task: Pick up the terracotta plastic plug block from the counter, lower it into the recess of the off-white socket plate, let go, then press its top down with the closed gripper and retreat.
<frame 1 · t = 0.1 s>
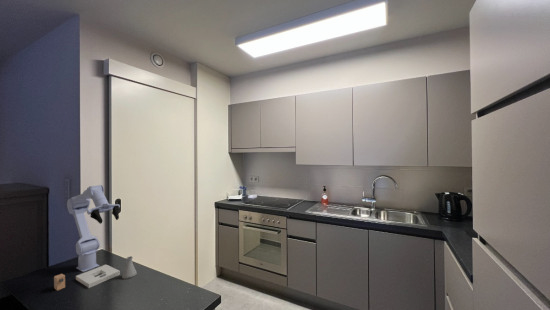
hand: (109, 220, 116), 32 cm above the countertop, tool tilted 50°, fingers open, 7 cm apart
plug: (59, 287, 109), on the countertop
flask: (129, 275, 120), on the countertop
socket: (98, 277, 119), on the countertop
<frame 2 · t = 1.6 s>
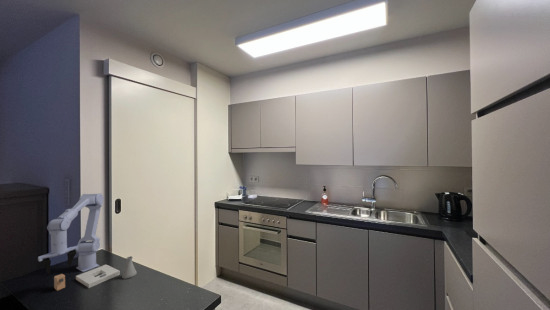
hand: (59, 269, 109), 9 cm above the countertop, tool pointing down, fingers open, 7 cm apart
nothing on the countertop moved.
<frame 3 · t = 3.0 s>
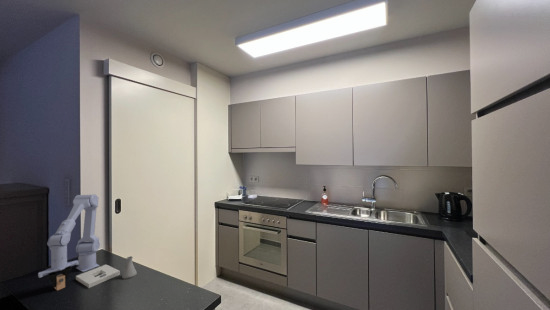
hand: (59, 284, 109), 2 cm above the countertop, tool pointing down, fingers closed on plug, 3 cm apart
plug: (59, 287, 109), on the countertop, touching gripper
everything else where it was.
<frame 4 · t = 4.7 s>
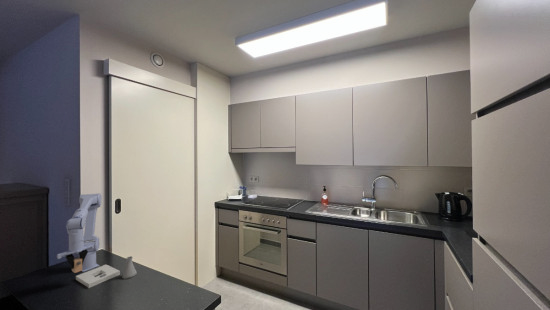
hand: (76, 266, 113), 9 cm above the countertop, tool pointing down, fingers closed on plug, 3 cm apart
plug: (77, 270, 113), point 7 cm above the countertop, touching gripper
everything else where it was.
when the fingers open (3 cm above the countertop, at t = 6.6 s): plug drops 1 cm, resting in socket.
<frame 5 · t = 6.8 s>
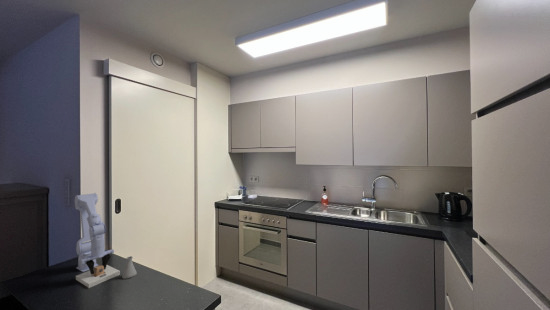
hand: (98, 271, 119), 3 cm above the countertop, tool pointing down, fingers open, 5 cm apart
plug: (99, 277, 118), resting in socket
everything else where it was.
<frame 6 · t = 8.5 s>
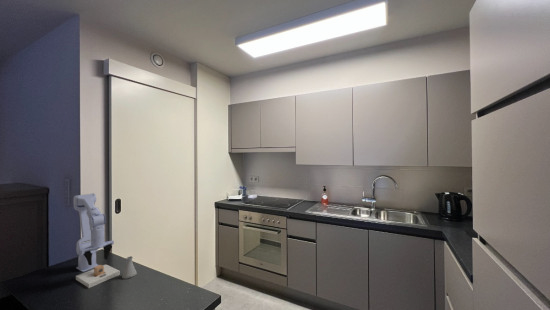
hand: (98, 261, 119), 8 cm above the countertop, tool pointing down, fingers open, 7 cm apart
nothing on the countertop moved.
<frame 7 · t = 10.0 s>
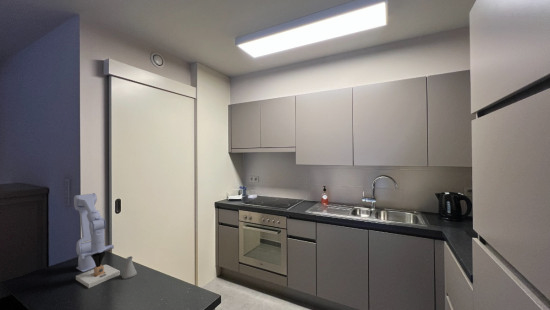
hand: (98, 266, 119), 6 cm above the countertop, tool pointing down, fingers closed, pressing on plug
plug: (99, 277, 118), resting in socket, touching gripper
everything else where it was.
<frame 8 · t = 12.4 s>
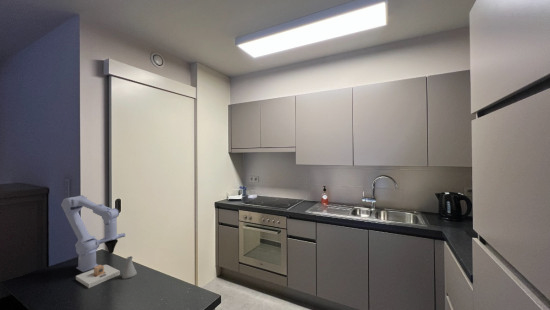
hand: (111, 252, 128), 9 cm above the countertop, tool pointing down, fingers closed
plug: (99, 277, 118), resting in socket
everything else where it was.
at the end: plug 0.8 cm off-centre on the socket, point 0.0 cm above the socket's base; plug tilted 0°; the gripper is holding nothing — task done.
